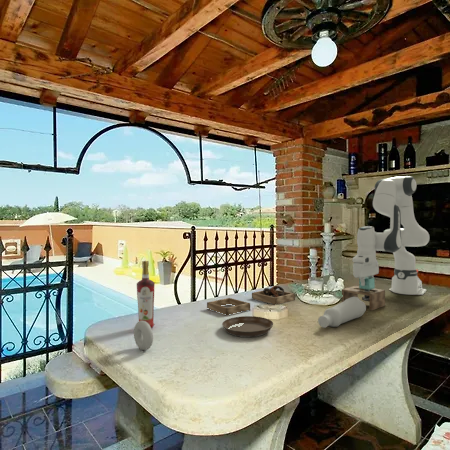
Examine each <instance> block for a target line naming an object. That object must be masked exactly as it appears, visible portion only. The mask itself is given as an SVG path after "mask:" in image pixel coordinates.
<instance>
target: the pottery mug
mask: <svg viewBox="0 0 450 450" xmlns="http://www.w3.org/2000/svg"><path fill="white" fill-rule="evenodd" d="M275 290H279V291H283V292H282V293H278V294H277V292H276V291H275ZM262 291H263V292H264V294H265V295H267V296H271V297H280V296H284V292H285V289H284V288H283V287H281V286H279V285H272V287H270V288H268V287H265V288H264V289H263V290H262ZM266 291H267V292H268V293H266Z"/></svg>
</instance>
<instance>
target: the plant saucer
mask: <svg viewBox="0 0 450 450" xmlns="http://www.w3.org/2000/svg"><path fill="white" fill-rule="evenodd" d="M239 323H244V324H243V325H242V326H240V327H238V326H236V327H232V328H230V329H228V328H229V327H230V326H232V325H235V324H239ZM221 325H222V327H223V329H224V330H225V331H226V332H227V333H228V334H230V335H232V336H235V335H236V337H239V336H242V337H241V338H256V337H260V336H264V335H266V334H267V333H268V332H270V330H271V329H272V327H273V326H274V322H273V321H272V320H271V319H269V318H266V317H261V316H254V315H253V316H249V315H245V316H234V317H230V318H228V319H225V320H223V322H222V324H221Z"/></svg>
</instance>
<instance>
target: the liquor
mask: <svg viewBox="0 0 450 450" xmlns="http://www.w3.org/2000/svg"><path fill="white" fill-rule="evenodd" d="M149 266H150V265H149V260H143V261H141V267H142V273H141V280H139V281H138V282H137V283H136V295H137V296H136V297H137V298H136V299H137V310H138V311H137V313H138V322H139V321H146V322H147V323H148V324H149V325H150V327H151V329H152V328H153V327H154V326H155V323H154V313H155V312H154V311H155V310H154V307H155V306H154V305H155V303H154V302H155V281H154V280H152V279H150V274H149Z"/></svg>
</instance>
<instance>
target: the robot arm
mask: <svg viewBox="0 0 450 450" xmlns="http://www.w3.org/2000/svg"><path fill="white" fill-rule="evenodd" d="M416 191H417V180H416V179H415V177H414V176H410V175H409V176H408V175H406V176H394V177H388V178H382V179H379V180H377V181H376V182H375V183H374V196H373V200H372V207H373V209H374V210H375V211H376V212H377V213H379V214H381V215H383V216H386V217H388V218H390V220H389V221H390V222H389V224H390V225H389V228H387V229H385V230H383V232H377V231H375V227H374V226H370V225H367V226H366V225H365V226H360V227H359V228H358V229H357V237H356V245H357V251H356V255H355V256H353V257H352V259H351V261H352V274H353V277H354V278H356V279H359V278H360V281H361V285H362V286H365V285H366V282H365V280H364V279H365V277H372V278H375V277H374V276H375V275H378V274H380V273H379V272H380V269H379V268H380V266H379V265H380V264H379V261H378V260H377V252H379V251H380V252H381V251H382V252H388V253H392V254H393V258H394V269H393V270H394V271H393V274H394V275H393V276H392V277H391V287H390V288H389V290H388V291H390V292H393V293H395V294H400V295H407V296H408V295H409V296H410V295H413V296H414V295H418V296H419V295H421V296H423V295H424V294H425V293H426V292H427V289H426V288H423V284H422V283H423V281H422V280H421V279H420V278H419V276H418V273H419V269H417V266H416V256H415V255H414V254H413V253H411V252H409V251H407V249H406V247H414V248H415V247H417V248H418V247H424V246H426V245H427V244H428V243H429V242H430V234H429V232H428V231H427V230H426V229H425V228H423V227H422V226H421V225H419V223H418V222H417V220H416V217H415V213H414V201H413V197H412V196H413V194H414V193H416ZM401 226H402V227H401Z"/></svg>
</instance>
